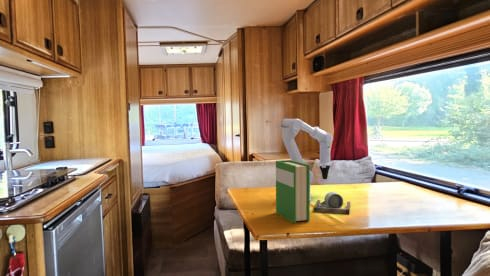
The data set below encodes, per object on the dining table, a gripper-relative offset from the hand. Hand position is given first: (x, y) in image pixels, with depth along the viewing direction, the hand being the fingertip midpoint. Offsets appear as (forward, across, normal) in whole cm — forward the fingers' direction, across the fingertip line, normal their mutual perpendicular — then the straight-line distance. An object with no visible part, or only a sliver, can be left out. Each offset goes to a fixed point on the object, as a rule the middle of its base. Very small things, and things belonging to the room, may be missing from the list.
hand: (324, 178), depth 200 cm
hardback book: (+10, -46, +10) cm, 48 cm away
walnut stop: (+9, -27, -6) cm, 29 cm away
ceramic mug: (+10, -26, -5) cm, 28 cm away
